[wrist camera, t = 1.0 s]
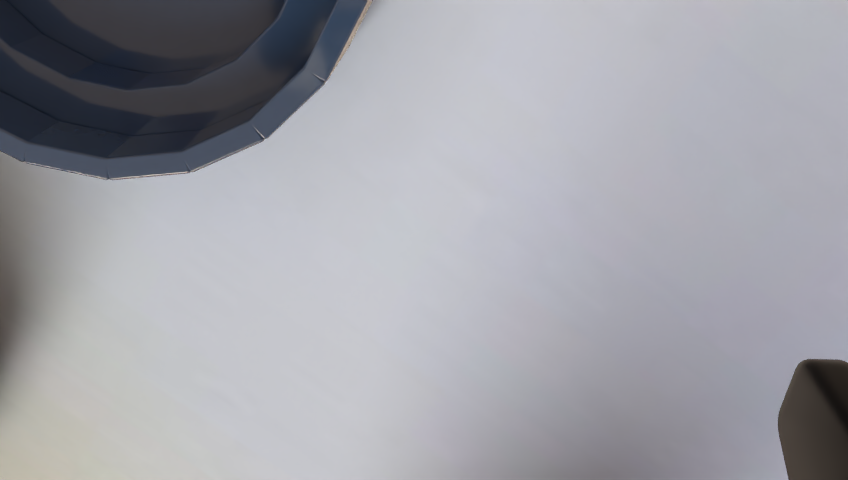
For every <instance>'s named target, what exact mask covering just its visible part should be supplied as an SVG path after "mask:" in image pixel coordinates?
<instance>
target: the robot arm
mask: <svg viewBox="0 0 848 480" xmlns="http://www.w3.org/2000/svg"><path fill="white" fill-rule="evenodd" d="M778 432H779V437H780V442H781V446H782V451H783V456H784V460H785V465H786V469H787V474H788V479H789V480H848V363H847V362H845V361H842V360H829V359H807V360H803V361H802V362H800V363H799V364H798V366H797V368H796V369H795V372H794V374H793V377H792V380H791V382H790V385H789V387H788V390H787V392H786V395H785V398H784V400H783V403H782V405H781V408H780V411H779V416H778Z"/></svg>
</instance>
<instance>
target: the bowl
mask: <svg viewBox="0 0 848 480" xmlns="http://www.w3.org/2000/svg"><path fill="white" fill-rule="evenodd" d="M372 1H373V0H0V151H2V152H4V153H6V154H8V155H10V156H12V157H14V158H16V159H18V160H20V161H22V162H26V163H28V164H33V165H37V166H42V167H47V168H52V169H57V170H62V171H67V172H71V173H76V174H81V175H86V176H91V177H96V178H101V179H106V180H108V179H110V180H118V179H129V178H141V177H152V176H163V175H174V174H185V173H190V172H195V171H197V170H199V169H202V168H204V167H206V166H208V165H211V164H213V163H215V162H217V161H220V160H222V159H224V158H226V157H229V156H231V155H233V154H235V153H238V152H240V151H242V150H244V149H247V148H249V147H251V146H254V145H256V144H258V143H260V142H263V141H264V139H267V138H268V137H269V136H270V135H271V134H273V133H274V132H275V131H276V130H277V129H278V128H279V127H280V126H281V125H282V124H283V123H284V122H285V121H286V120H287V119H288V118H289V117H290V116H291V115H293V114H294V113H295V112H296V111H297V110H298V109H299V108H300V107H301V106H302V105H303V104H304V103H305V102H306V101H307V100H308V99H309V98H310V97H311V96H313V95H314V94H315V93H316V92H317V91H318V90H319V89H320V88H321V87H322V86H323V85H324V84H325V82H326V81H327V80H328V79H329V77H330V76H331V74H332V72H333V71H334V69H335V68H336V66H337V65H338V63H339V61H340V60H341V58H342V57H343V55H344V54H345V52H346V51H347V49H348V48H349V46H350V44H351V42H352V40H353V38H354V36H355V34H356V32H357V30H358V28H359V26H360V24H361V22H362V20H363V19H364V17H365V15H366V13H367V11H368V9H369V7H370V5H371V3H372Z"/></svg>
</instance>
